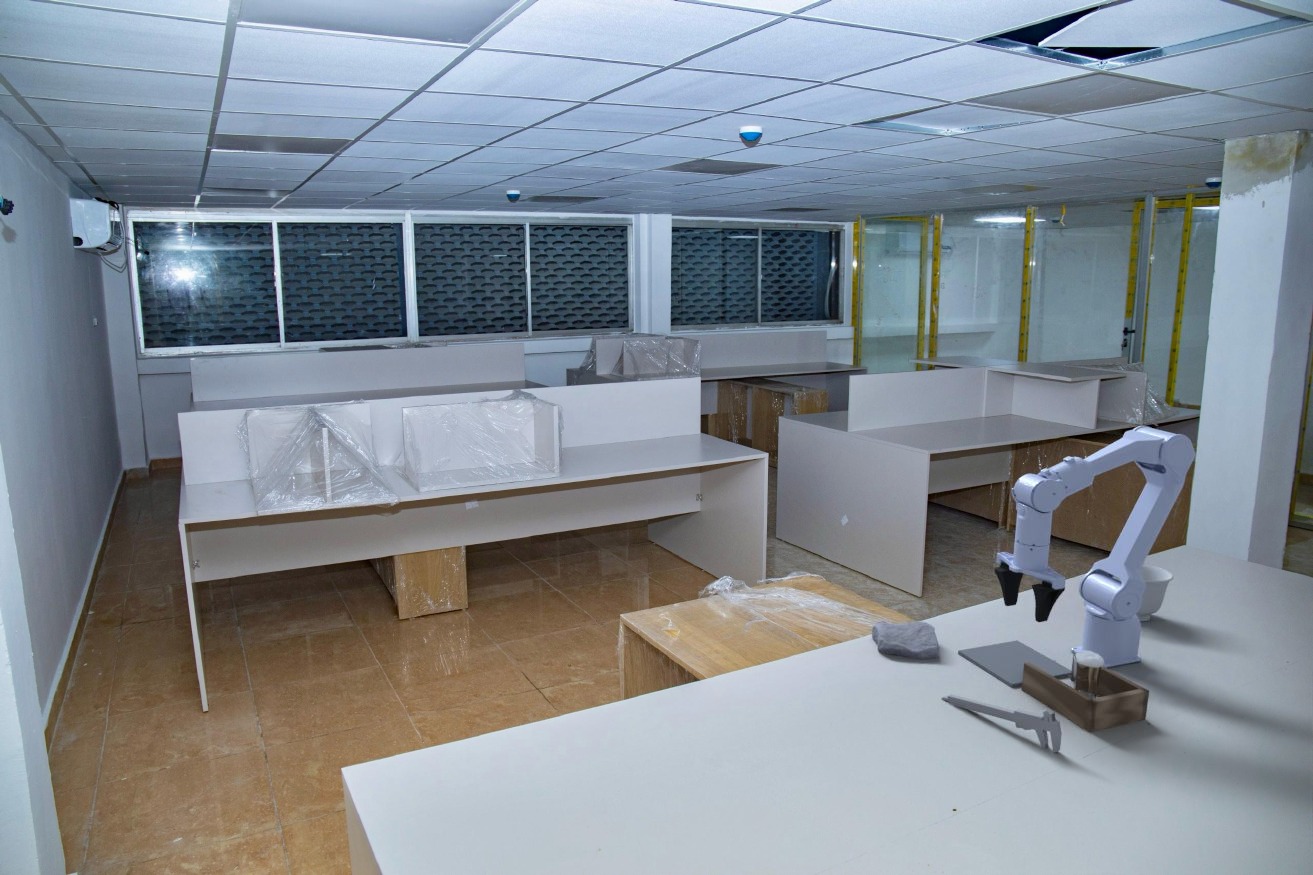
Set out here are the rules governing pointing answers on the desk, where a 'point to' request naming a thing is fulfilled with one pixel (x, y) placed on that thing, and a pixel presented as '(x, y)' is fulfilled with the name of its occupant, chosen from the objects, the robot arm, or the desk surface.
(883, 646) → the stone block
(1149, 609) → the teacup
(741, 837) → the desk surface
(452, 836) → the desk surface
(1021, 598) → the desk surface
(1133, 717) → the open box
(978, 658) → the mat
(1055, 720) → the caliper
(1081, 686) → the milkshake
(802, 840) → the desk surface
